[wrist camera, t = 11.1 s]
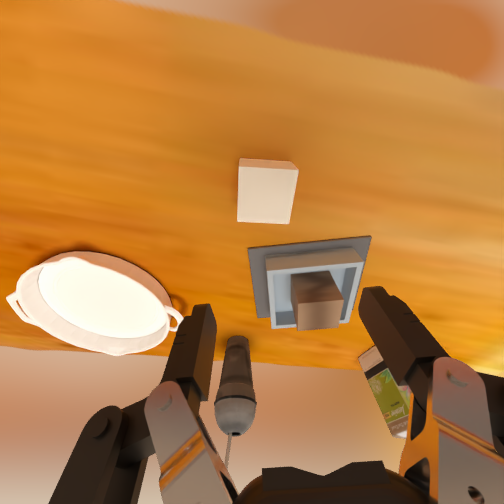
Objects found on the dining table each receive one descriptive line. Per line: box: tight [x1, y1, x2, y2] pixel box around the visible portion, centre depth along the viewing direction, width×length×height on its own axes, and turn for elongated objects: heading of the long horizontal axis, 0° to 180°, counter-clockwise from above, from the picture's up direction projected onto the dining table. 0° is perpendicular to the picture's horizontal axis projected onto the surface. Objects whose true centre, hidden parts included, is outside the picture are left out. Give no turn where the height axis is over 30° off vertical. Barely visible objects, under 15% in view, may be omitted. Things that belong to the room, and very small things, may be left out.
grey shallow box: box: [248, 236, 372, 329], centre depth 33 cm, size 18×16×4 cm
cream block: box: [237, 158, 299, 224], centre depth 24 cm, size 6×6×4 cm
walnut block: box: [291, 271, 344, 331], centre depth 31 cm, size 6×6×6 cm
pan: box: [6, 251, 183, 356], centre depth 35 cm, size 24×27×4 cm
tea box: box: [358, 345, 412, 439], centre depth 43 cm, size 15×10×15 cm
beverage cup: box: [214, 336, 257, 468], centre depth 36 cm, size 7×7×20 cm
